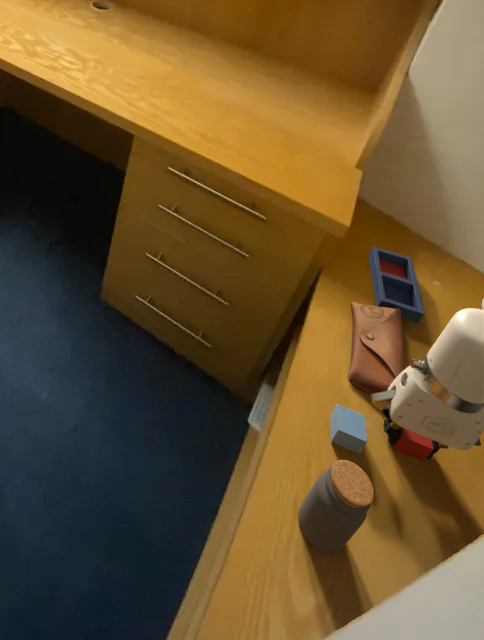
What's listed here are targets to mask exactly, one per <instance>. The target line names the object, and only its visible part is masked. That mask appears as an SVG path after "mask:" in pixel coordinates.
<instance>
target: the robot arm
mask: <svg viewBox="0 0 484 640" xmlns="http://www.w3.org/2000/svg"><path fill="white" fill-rule="evenodd" d="M409 362H410V363H409V364H410V365H408V366H407V367H405V370H403V371H402V372H401V373H400V374H399V375H398V376H397V377H396V378H395V379H394V381H393V382H392V383H391V385H390V386H389V388H388V390H387V391H384V392H379V393H374V394H371V395H370V401H371V404H372V405H373V406H374V407H376V409H378V410H379V411H381V412H382V415H383V416H384V417H385V418H386V419H385V420H384V422H383V432H384V433H385V434H387V435H386V436H387V442H388V444H390V445H393V444H395V442H396V441H397V440H398V438H399V437H400V436H401V434H402V428H405V429H407V430H410V431H412V432H414V433H417V434H419V435H422V436H424V437H427V438H429V439H431V440H432V444H433V451H432V452H431V453H430V454H429V455H428V457H427V458H426V459H425V460H430V459H431V458H432V457H433V456H434V455H435V454H437V453H438V452H439V451H440V450H441V449H443V450H447V449H448V448H453V449H455V450H458V451H468V450H470V449H472V448H473V446H477V447H479V446H482V443H481V439H480V438H481V436H482V434H483V433H484V298H483V299H482V301H481V309H480V308H474V307H467V308H466V307H465V308H463V309H460V310H458V311H457V312H455V314H454V315H453V316H452V317H451V319H450V320H449V321H448V322H447V324H446V326H445V327H444V329H443V330H442V331H441V333H440V335H439V336H438V337H437V339H436V340H435V342H434V343H433V344H432V346H431V348H430V349H428V352H426V354H424V355H423V357H421V358H417V359H416V358H414V357H411V358H410V361H409Z"/></svg>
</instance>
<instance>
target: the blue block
mask: <svg viewBox="0 0 484 640" xmlns="http://www.w3.org/2000/svg"><path fill="white" fill-rule="evenodd" d="M366 423H367V422H366V415H365V414H362V413H360V412H358V411H355V410H352V409H350V408H348V407H345V406H343V405H340V404H338V403H336V404H335V406H334V408H333V409H332V411H331V413H330V415H329V431H330V432H329V433H330V442H331V443H333V444H335V445H337V446H339V447H342V448H344V449H346V450H349V451H350V452H354V453H355V454H358V455H360V454H361V453H362V451H363V449H364V448H365V447H366V446H367V444H368V433H367V425H366Z"/></svg>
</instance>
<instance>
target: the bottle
mask: <svg viewBox="0 0 484 640" xmlns="http://www.w3.org/2000/svg"><path fill="white" fill-rule="evenodd" d="M374 497H375V491H374V487H373V483H372V481H371V479H370V478H369V476H368V475H367V473H366V472H365V471H364V470H363V469H362V467H360V466H359V465H357V464H356V463H355V462H352V461H350V460H346V459H340V460H336V462H335V463H333V465H331V466H329V468H328V469H326V470H324V471H323V472H321V473H320V474H319V476H318V477H317V479H315V482H314V483H313V485H312V487H311V488H310V490H309V491H308V492H307V494H306V495H305V497H304V499H303V501H302V502H301V504H300V505H299V508H298V513H297V520H298V524H299V528H300V530H301V532H302V534H303V537H304V538H305V539H306V541H307V540H308V541H307V542H308V543H309V544H310V545H311V547H313V548H314V547H315V548H314V549H316V550H317V549H318V550H319V551H318V550H317V551H318V552H320V551H322V552H324V553H323V554H325V553H327V554H326V555H330V554H332V555H335V553H336V554H338V553H339V552H341V550H342V549H343V548H344V547H345V546H346V544H347V543H348V542H349V541H350V540H351V539H352V538H353V536H354V535H355V533H356V532H358V530H359V529H360V528H361V526H362V525H363V524H364V523H365V521H366V519H367V516H368V511H369V509H370V508H371V504H372V503H373V501H374ZM322 552H321V553H322Z"/></svg>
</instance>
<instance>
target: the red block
mask: <svg viewBox="0 0 484 640" xmlns="http://www.w3.org/2000/svg"><path fill="white" fill-rule="evenodd" d="M392 446H393V449H394V450H396V451H397V452H400V453H403V454H406V455H407V456H410V457H412V458H415V459H417V460H420V461H422V462H424V461H425V460H427V459H426V458H427V457H428V455H429V454H430V453H431V452H432V451H433V444H432V440H431V439H429V438H427V437H424V436H422V435H419V434H417V433H414V432H412V431H410V430H407V429H405V428H402V434H401V436H400V437H399V438H398V440H397V441H396V442H395V444H392Z"/></svg>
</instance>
